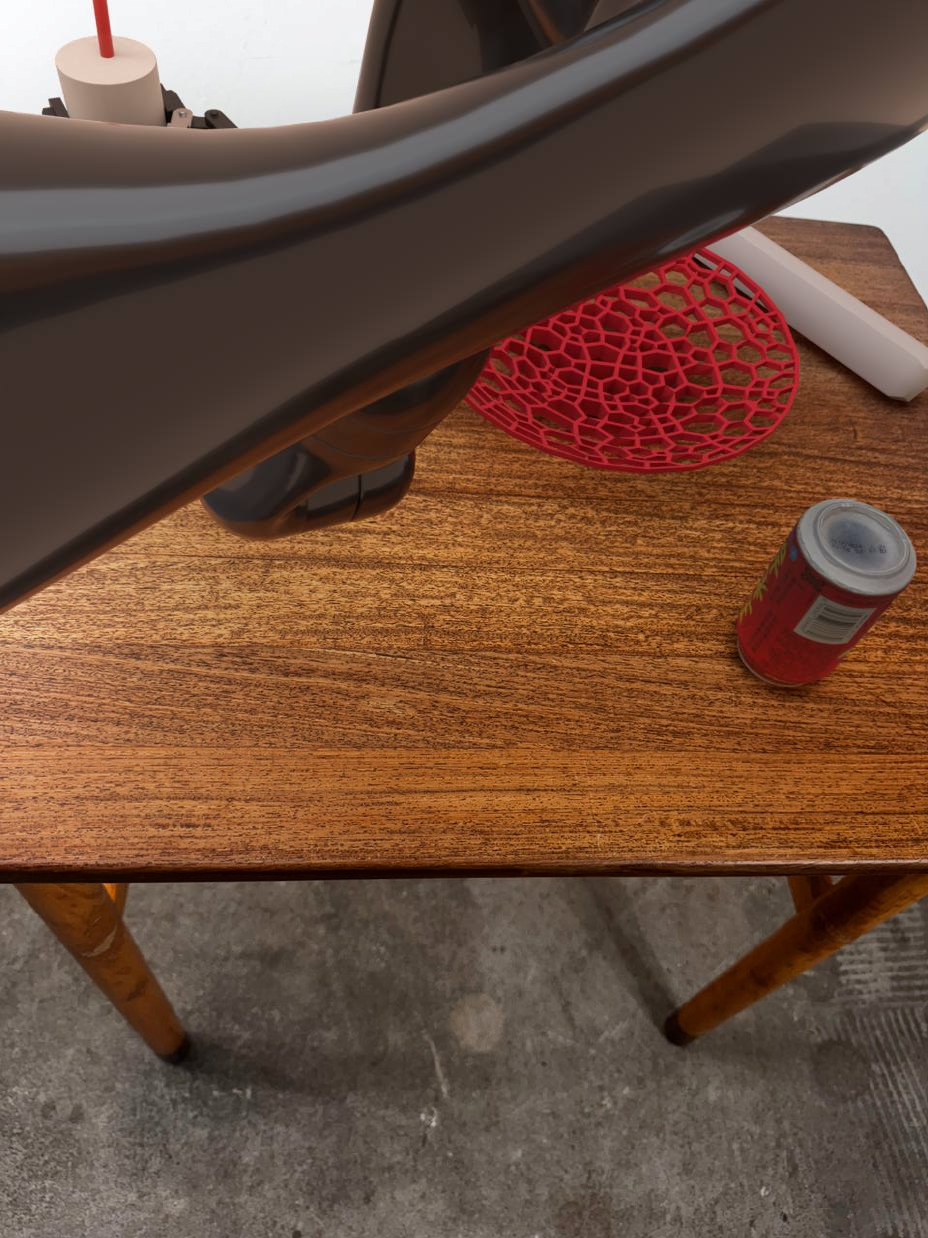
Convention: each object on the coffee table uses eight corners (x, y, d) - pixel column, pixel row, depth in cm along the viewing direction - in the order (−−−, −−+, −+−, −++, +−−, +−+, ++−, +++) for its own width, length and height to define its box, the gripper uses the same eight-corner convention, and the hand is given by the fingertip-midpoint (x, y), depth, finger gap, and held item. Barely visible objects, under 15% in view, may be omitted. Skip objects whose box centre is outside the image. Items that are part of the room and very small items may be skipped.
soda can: (841, 698, 61) (941, 590, 50) (737, 694, 60) (817, 583, 50) (816, 609, 64) (904, 492, 54) (718, 604, 64) (789, 485, 54)
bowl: (788, 546, 67) (817, 501, 63) (390, 478, 67) (394, 428, 63) (763, 295, 84) (786, 246, 80) (444, 238, 83) (450, 186, 79)
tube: (959, 354, 76) (730, 198, 84) (939, 362, 72) (701, 198, 81) (916, 408, 79) (700, 253, 88) (894, 418, 76) (671, 255, 84)
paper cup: (85, 234, 62) (13, -44, 48) (100, 184, 65) (37, -89, 51) (175, 240, 62) (128, -32, 49) (185, 190, 65) (144, -78, 52)
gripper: (310, 173, 51) (208, 28, 59) (44, 222, 47) (-30, 58, 54) (314, 287, 58) (221, 143, 65) (79, 341, 53) (9, 178, 60)
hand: (107, 105), depth 60 cm, fingers closed on paper cup, 6 cm apart
